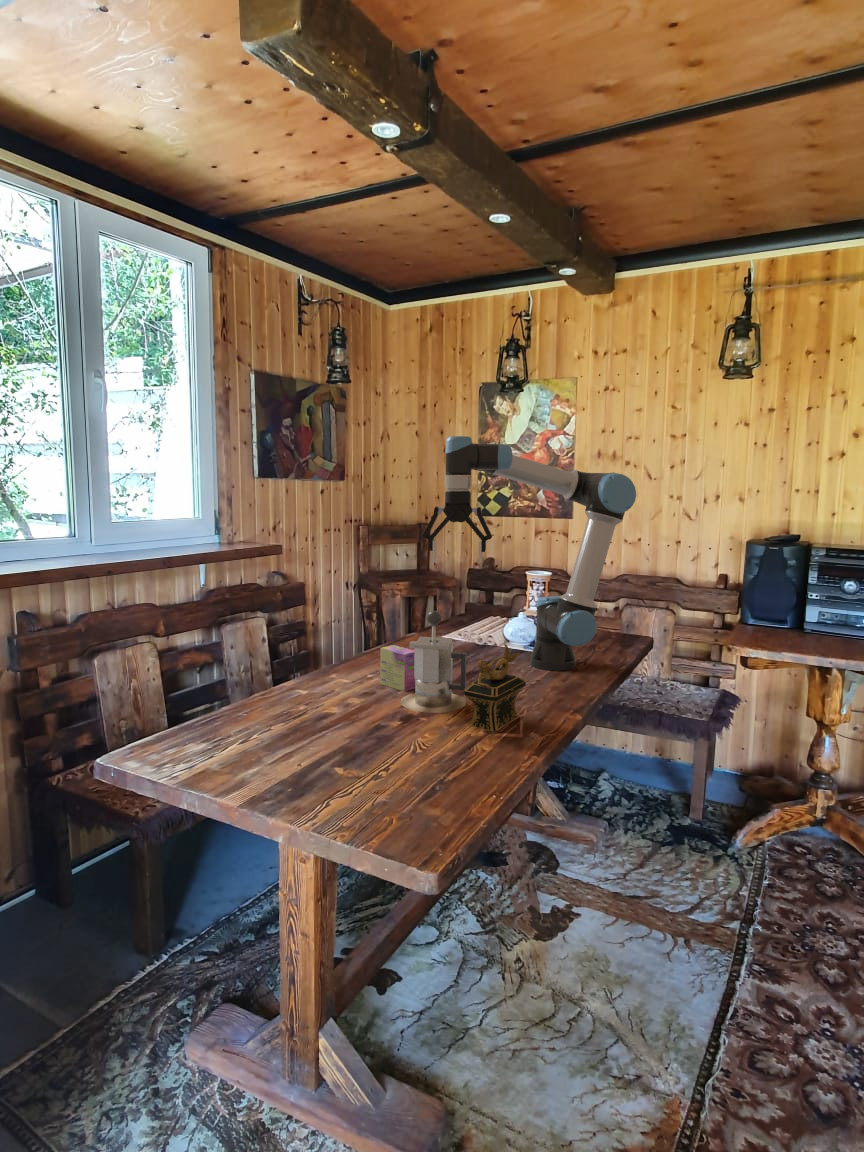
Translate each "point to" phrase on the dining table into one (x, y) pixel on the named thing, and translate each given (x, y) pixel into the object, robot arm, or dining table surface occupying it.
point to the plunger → (433, 622)
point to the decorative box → (494, 694)
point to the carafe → (436, 671)
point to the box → (397, 667)
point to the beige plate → (455, 705)
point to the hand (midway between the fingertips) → (457, 562)
